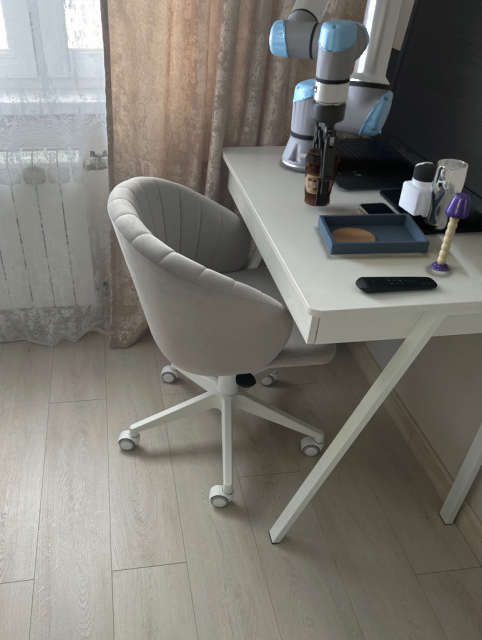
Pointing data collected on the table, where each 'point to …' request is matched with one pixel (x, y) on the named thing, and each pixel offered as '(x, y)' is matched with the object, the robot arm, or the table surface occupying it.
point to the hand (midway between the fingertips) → (317, 198)
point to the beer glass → (444, 191)
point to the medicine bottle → (418, 190)
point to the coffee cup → (316, 175)
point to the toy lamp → (452, 227)
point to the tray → (375, 233)
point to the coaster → (352, 235)
